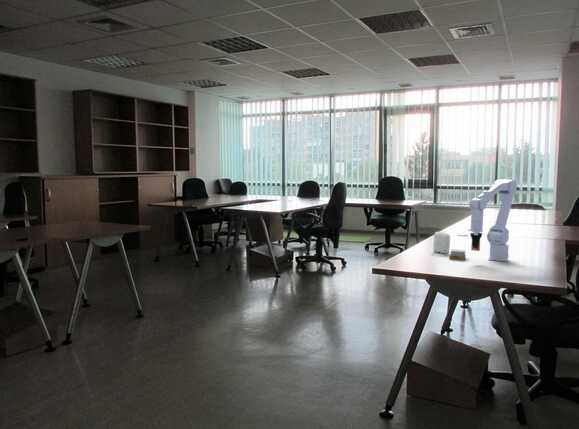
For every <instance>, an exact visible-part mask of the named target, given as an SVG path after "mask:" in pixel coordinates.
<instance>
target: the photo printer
mask: <svg viewBox="0 0 579 429" xmlns="http://www.w3.org/2000/svg"><path fill="white" fill-rule="evenodd" d="M450 242H451V236H450V234H449V233H448V232H445V231H436V232H434V234H433V252H436V253H439V252H440V253H441V254H444V253H445V254H444V255H449V254H448V253H450V247H451V246H450ZM446 253H447V254H446Z"/></svg>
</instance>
